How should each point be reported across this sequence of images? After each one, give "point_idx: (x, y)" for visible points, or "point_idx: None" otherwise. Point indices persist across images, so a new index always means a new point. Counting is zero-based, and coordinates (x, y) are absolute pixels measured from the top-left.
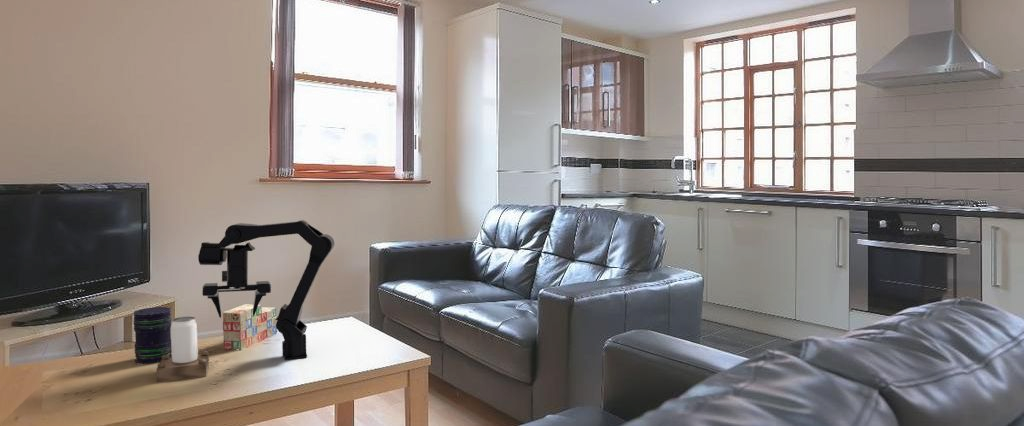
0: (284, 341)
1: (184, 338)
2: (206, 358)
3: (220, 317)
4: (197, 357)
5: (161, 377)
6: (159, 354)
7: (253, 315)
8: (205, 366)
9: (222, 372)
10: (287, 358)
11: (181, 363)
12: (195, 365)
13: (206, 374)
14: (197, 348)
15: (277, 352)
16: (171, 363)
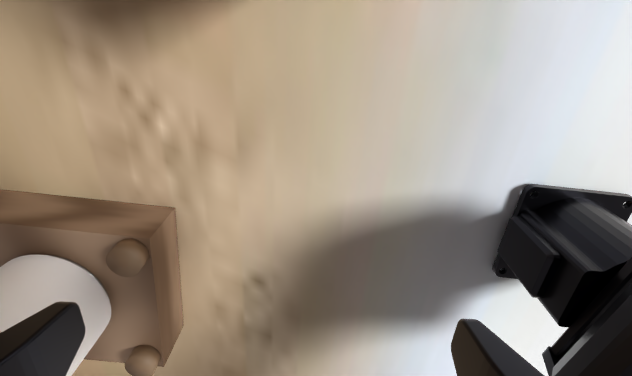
0: (548, 302)
1: None
2: (152, 302)
3: (79, 334)
4: (109, 314)
5: None
6: None
7: (456, 352)
8: (166, 357)
9: (237, 308)
10: (504, 276)
11: None
12: (125, 360)
13: (181, 316)
14: (81, 345)
15: (510, 126)
16: None
